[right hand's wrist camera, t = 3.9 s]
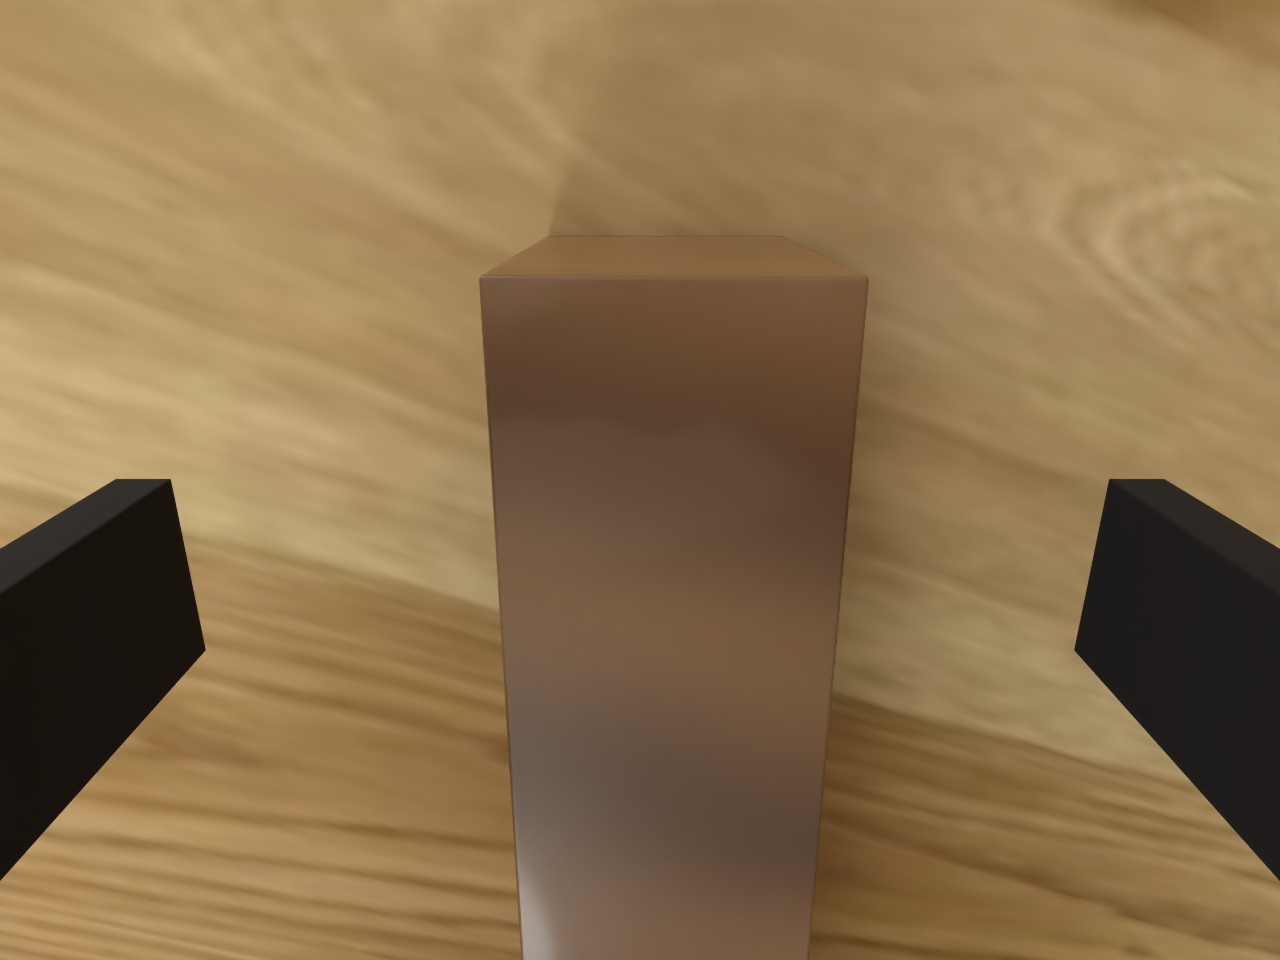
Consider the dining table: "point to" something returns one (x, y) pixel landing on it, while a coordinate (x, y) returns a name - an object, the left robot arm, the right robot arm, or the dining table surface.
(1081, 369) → the dining table surface
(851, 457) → the beam
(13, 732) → the right robot arm
